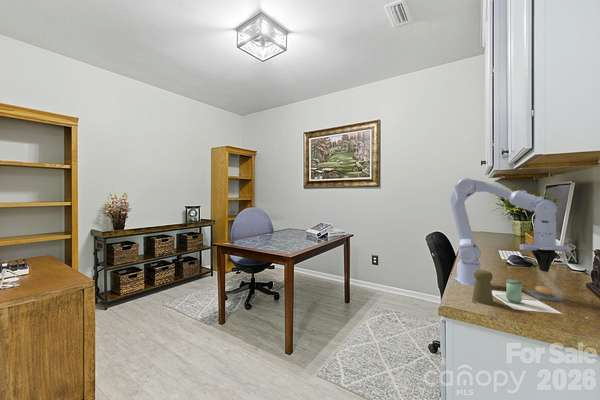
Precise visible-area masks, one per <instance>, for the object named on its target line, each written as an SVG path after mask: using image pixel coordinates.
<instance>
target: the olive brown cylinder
mask: <svg viewBox="0 0 600 400" xmlns="http://www.w3.org/2000/svg"><path fill="white" fill-rule="evenodd" d="M474 277H475V279H476V280H475V285H473V286H474V287H473V292H472V298H471V299H472V300H471V302H472V303H473V304H475V305H478V304H482V305H491V306H492V305H494V296H493V295H492V283H491V282H492V280H493V274H492V273H491V271H489V270H485V269H480V270H475V272H474Z"/></svg>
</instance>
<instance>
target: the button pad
mask: <svg viewBox="0 0 600 400" xmlns="http://www.w3.org/2000/svg"><path fill="white" fill-rule="evenodd" d="M525 294H527V295H529V296H531V297H532V298H534V299H536V300H538V301H551V302H561V303H563V302H564V298H562V297H560V296H558V295H556V294H554V293H552V295H543V294H539V293H537V292H535V290H532V289H531V290H530V289H525Z"/></svg>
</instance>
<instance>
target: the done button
mask: <svg viewBox="0 0 600 400" xmlns="http://www.w3.org/2000/svg"><path fill="white" fill-rule="evenodd" d="M534 287H535V290H534V291H535V292H537V293H539V294H543V295H552V294H553V289H552V288H550V287H548V286H543V285H536V286H534Z"/></svg>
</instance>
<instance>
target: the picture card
mask: <svg viewBox="0 0 600 400" xmlns="http://www.w3.org/2000/svg"><path fill="white" fill-rule="evenodd" d="M492 296H493V297H495V298H496V299H498V300H499V301H500V302H502V303H504V304H505V305H507V306H509V308H511V309H513V310H519V311H528V312H537V313H538V312H539V313H551V314H560V315H561V314H562V315H563V313H562V312H560V311H559V310H557V309H555V308H553V307H552V306H549V305H547V304H546V303H544V302H541V300H539V299H537V298H535V297H533V296H531V295H529V294H527V293H526V292H522V301H520V303H519V304H515V303H511V302H509V301H508V299H507V298H506V291H505V290H494V289H493V290H492Z"/></svg>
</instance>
